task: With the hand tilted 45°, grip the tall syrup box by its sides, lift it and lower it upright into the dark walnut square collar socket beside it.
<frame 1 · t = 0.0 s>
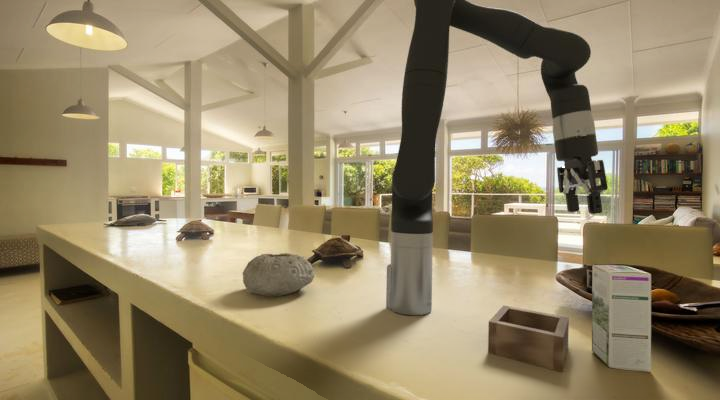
hand: (584, 212, 72), 22 cm above the counter, tool pointing down, fingers open, 8 cm apart
grey carved stone: (279, 293, 88), on the counter
syrup box: (618, 362, 53), on the counter
walnut collar: (529, 349, 56), on the counter
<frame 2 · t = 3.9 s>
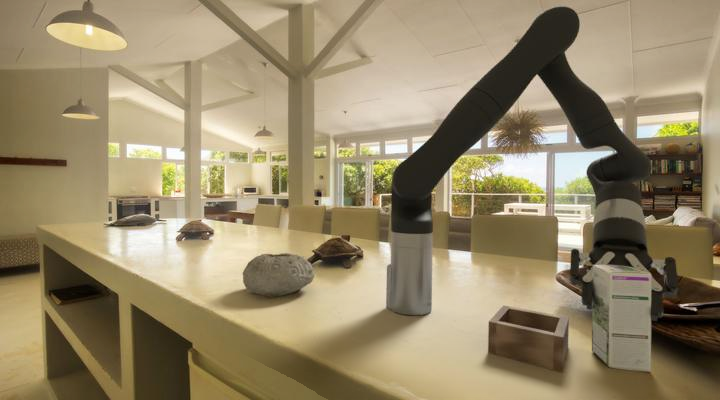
hand: (620, 312, 51), 8 cm above the counter, tool tilted 45°, fingers closed on syrup box, 7 cm apart
syrup box: (618, 362, 53), on the counter, touching gripper
everything else where it was.
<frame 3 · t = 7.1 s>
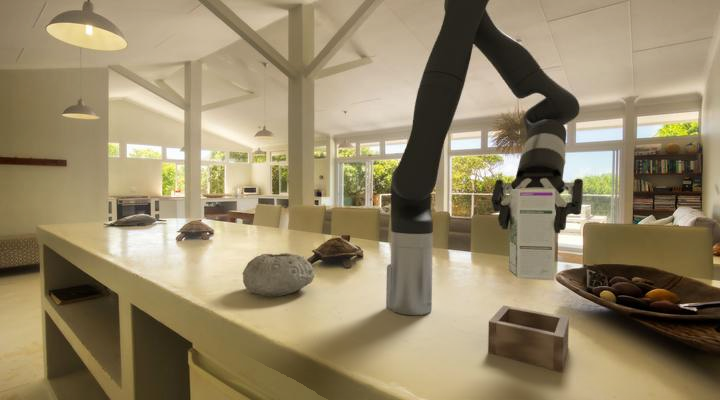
hand: (529, 227, 55), 20 cm above the counter, tool tilted 45°, fingers closed on syrup box, 7 cm apart
syrup box: (529, 276, 56), point 12 cm above the counter, touching gripper
everything else where it was.
when the fingers open (9 cm above the counter, at t = 10.3 s): syrup box drops 1 cm, resting in walnut collar.
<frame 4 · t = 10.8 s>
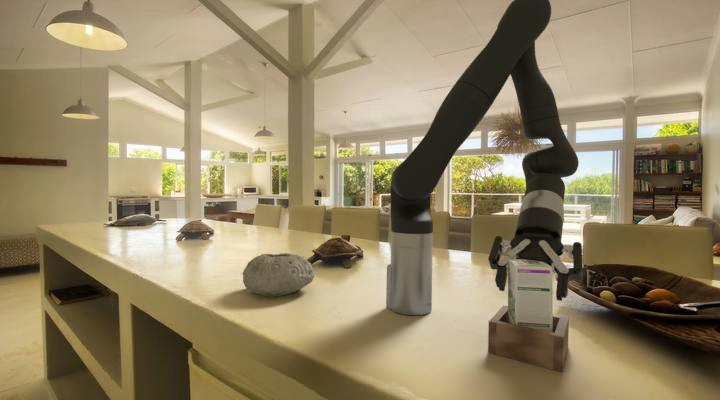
hand: (528, 293, 55), 10 cm above the counter, tool tilted 45°, fingers open, 8 cm apart
syrup box: (528, 350, 57), resting in walnut collar
everything else where it was.
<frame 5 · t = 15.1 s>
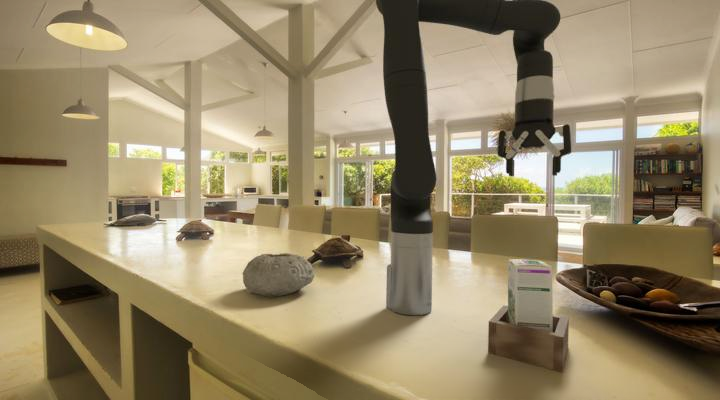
hand: (532, 175, 75), 30 cm above the counter, tool pointing down, fingers open, 8 cm apart
nothing on the counter moved.
at the end: syrup box 0.2 cm off-centre on the walnut collar, point 0.0 cm above the walnut collar's base; syrup box tilted 0°; the gripper is holding nothing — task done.
